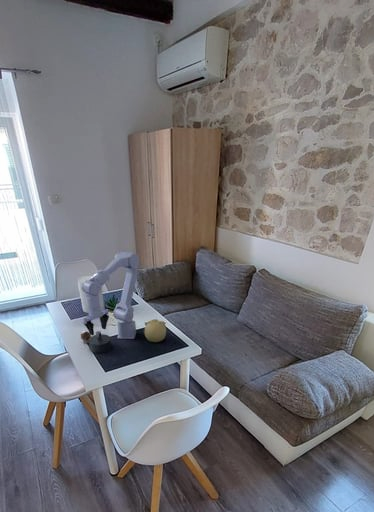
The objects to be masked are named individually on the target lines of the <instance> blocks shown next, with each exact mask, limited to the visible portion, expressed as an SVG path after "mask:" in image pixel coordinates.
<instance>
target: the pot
mask: <svg viewBox="0 0 374 512" xmlns="http://www.w3.org/2000/svg"><path fill="white" fill-rule="evenodd" d="M89 349H90V352H92V353H93V354H105V353H107V352H109V351H110V350H111V349H112V343H111V341H110V342H109V343H107V344H105V345H101V346H94V345H91V344H89Z"/></svg>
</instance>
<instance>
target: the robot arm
mask: <svg viewBox="0 0 374 512" xmlns="http://www.w3.org/2000/svg"><path fill="white" fill-rule="evenodd" d="M114 257H115V258H114V259H112V261H111V262H110V263H109V264H108V265H107V266H106V267H105V268H104V269H100V270H99V269H98V270H97V271H96V272H95V274H93V275H94V276H93V277H91V278H90V280H86V281H85V282H84V283H83V286H82V290H83V291H84V292H85V295H86V299H87V305H88V311H89V313H88V314H87V315H86V316H85V317H84V318H82V319H81V323H82V324H83V325H84V326H85V328H86V329H87V330H88V331H87V332H89V333H90V334H91V336H94V335H95V331H94V326H95V323H93V322H92V321H95V320H98V319H99V321H100V325H101V329H102V330H107V324H108V321H109V318H110V316H109V313H110V312H109V309H106V308H105V309H104V310H102V311H101V307H100V300H99V293H100V290H101V288H102V289H103V287H104V286H105V284H106V283H107V282H108V281H109V280H110V276H111V275H112V274H114V273H115V272H116V271H118V270H119V269H120V268H121V267H123V268H124V269H125V272H126V273H125V277H124V284H123V287H122V291H121V296H120V301H119V302H118V303H116V305H115V307H114V309H113V312H112V315H113V317H114V318H115V320H116V325H117V333H118V334H117V336H116V339H119V340H120V339H121V340H126V339H127V340H135V338H136V335H137V325H136V324H137V323H136V320H134V311H135V309H134V308H133V306H132V301H133V295H134V293H135V292H134V291H135V286H136V282H137V278H138V274H139V266H140V262H141V260H140V258H139V255H138V254H136V253H132V252H129V251H128V252H127V251H124V250H119V252H118V253H116V254H115V256H114Z"/></svg>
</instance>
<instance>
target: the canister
mask: <svg viewBox="0 0 374 512" xmlns="http://www.w3.org/2000/svg"><path fill="white" fill-rule="evenodd" d="M94 275H95V274H85V275H81V276H79V277H77V279H76V280H77V286H78V291H79V296H80V302H81V308H82V312H84V313H86V314H89V311H88V305H87V299H86V295H85V292H84V291H83V290H82V286H83V283H84V282H85V281H86V280H90V278H91V277H93V276H94ZM99 300H100V307H101V311H102V310H105V309H106V308H105V300H104V293H103V287H102V288H101V290H100V293H99Z"/></svg>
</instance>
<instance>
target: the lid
mask: <svg viewBox="0 0 374 512" xmlns="http://www.w3.org/2000/svg"><path fill="white" fill-rule="evenodd" d="M111 341H112V339H111V336H110V335H108V334H105V333H102V332H101V330H98V331H95V334H94V335H91V337H90V338H89V339H88V342H89V343H88V345H90V344H91V345H94V346H101V345H105V344H107V343H109V342H110V343H111Z"/></svg>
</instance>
